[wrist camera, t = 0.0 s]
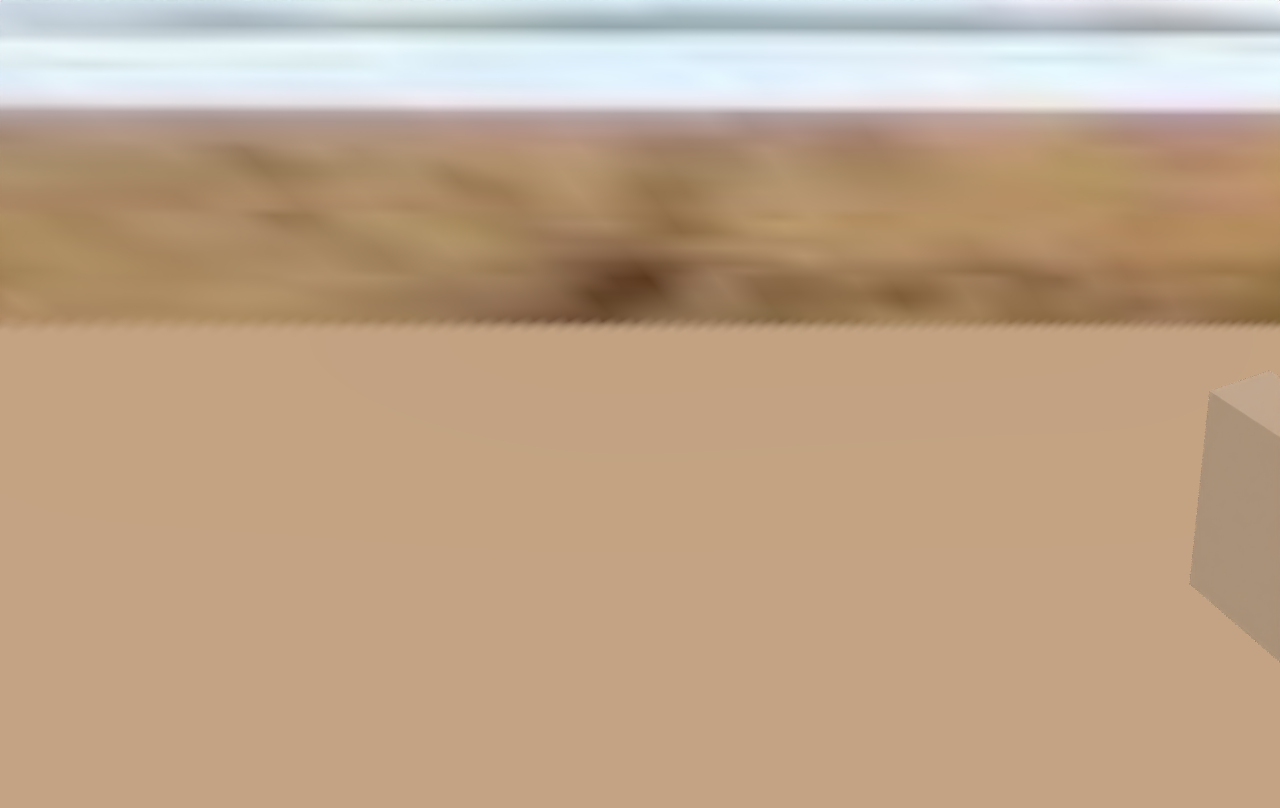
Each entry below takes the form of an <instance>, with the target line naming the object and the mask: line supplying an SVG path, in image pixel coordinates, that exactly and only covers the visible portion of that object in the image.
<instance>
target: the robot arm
mask: <svg viewBox="0 0 1280 808" xmlns="http://www.w3.org/2000/svg"><path fill="white" fill-rule="evenodd" d="M1190 585H1191V586H1192V587H1194V588H1195V589H1196V590H1197V591H1198V592H1199V593H1200V594H1202V595H1203V596H1204V597H1205V598H1206V599H1207V600H1209V601H1210V602H1211V603H1212V604H1213V605H1214V606H1215V607H1217V608H1218V609H1219V610H1220V611H1221V612H1222V613H1224V614H1225V615H1226V616H1227V617H1228V618H1229V619H1231V620H1232V621H1233V622H1234V623H1235V624H1236V625H1238V626H1239V627H1240V628H1241V629H1242V630H1243V631H1245V632H1246V633H1247V634H1248V635H1249V636H1250V637H1251V638H1253V639H1254V640H1255V641H1256V642H1257V643H1258V644H1260V645H1261V646H1262V647H1263V648H1264V649H1265V650H1267V651H1268V652H1269V653H1270V654H1271V655H1272V656H1273V657H1275V658H1276V659H1277V660H1278V661H1279V662H1280V377H1279V376H1277V375H1275V374H1274V373H1272V372H1270V371H1267V372H1264V373H1261V374H1258V375H1255V376H1252V377H1250V378H1247V379H1244V380H1241V381H1238V382H1235V383H1232V384H1229V385H1226V386H1223V387H1220V388H1217V389H1214V390H1211V391H1209V402H1208V411H1207V420H1206V431H1205V440H1204V449H1203V459H1202V468H1201V478H1200V488H1199V497H1198V507H1197V516H1196V527H1195V536H1194V546H1193V555H1192V564H1191V574H1190Z"/></svg>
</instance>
